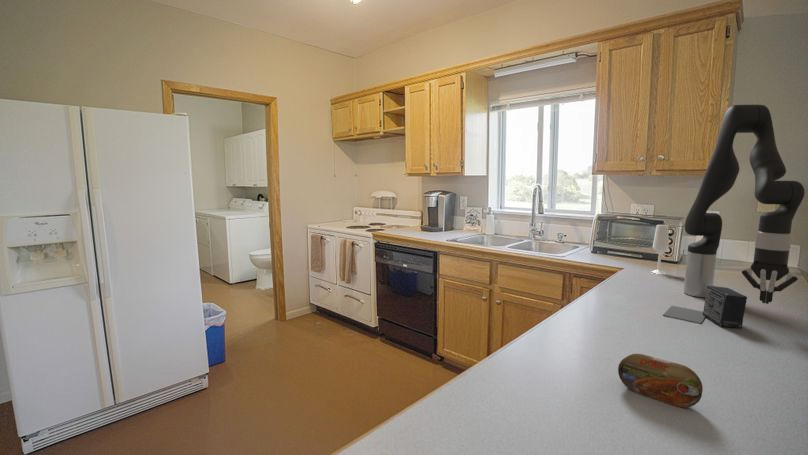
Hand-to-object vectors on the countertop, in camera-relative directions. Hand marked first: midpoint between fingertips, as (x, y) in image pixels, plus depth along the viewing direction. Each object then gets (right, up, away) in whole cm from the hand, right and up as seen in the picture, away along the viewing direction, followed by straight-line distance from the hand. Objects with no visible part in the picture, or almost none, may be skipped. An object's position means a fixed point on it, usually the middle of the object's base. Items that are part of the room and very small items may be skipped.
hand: (765, 302), depth 118 cm
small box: (-7, -8, +8) cm, 13 cm away
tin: (-57, -14, -35) cm, 68 cm away
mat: (-14, -7, +15) cm, 21 cm away
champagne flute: (+15, 0, +73) cm, 75 cm away
